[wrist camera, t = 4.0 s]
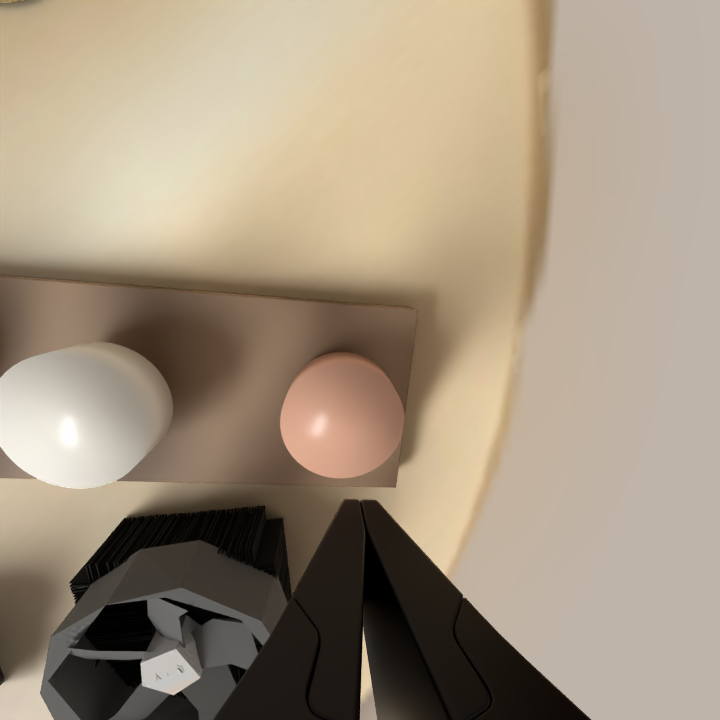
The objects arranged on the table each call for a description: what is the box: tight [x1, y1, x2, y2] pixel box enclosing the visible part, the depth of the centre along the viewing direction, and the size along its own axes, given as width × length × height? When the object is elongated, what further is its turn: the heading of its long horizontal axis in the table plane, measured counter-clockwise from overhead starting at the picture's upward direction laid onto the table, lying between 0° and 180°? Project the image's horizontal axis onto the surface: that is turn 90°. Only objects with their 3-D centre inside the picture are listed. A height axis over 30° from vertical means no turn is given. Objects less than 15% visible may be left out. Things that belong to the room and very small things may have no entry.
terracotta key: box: [280, 352, 404, 478], centre depth 15 cm, size 5×5×2 cm
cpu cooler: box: [40, 506, 292, 720], centre depth 17 cm, size 10×6×10 cm
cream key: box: [0, 342, 173, 489], centre depth 13 cm, size 5×5×2 cm
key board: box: [0, 275, 418, 488], centre depth 16 cm, size 25×9×2 cm, turn 85°
